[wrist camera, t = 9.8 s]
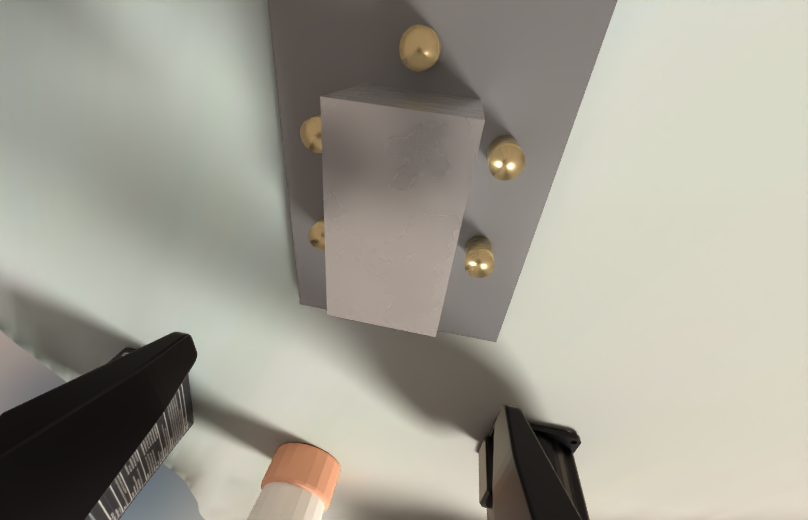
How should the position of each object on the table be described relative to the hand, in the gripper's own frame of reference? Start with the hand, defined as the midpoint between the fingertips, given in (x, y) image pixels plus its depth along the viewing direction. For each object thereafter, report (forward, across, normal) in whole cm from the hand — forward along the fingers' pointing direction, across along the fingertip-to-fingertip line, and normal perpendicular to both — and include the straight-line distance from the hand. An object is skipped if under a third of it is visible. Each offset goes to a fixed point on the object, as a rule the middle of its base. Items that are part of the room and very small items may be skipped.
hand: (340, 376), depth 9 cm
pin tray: (+11, 0, -2) cm, 11 cm away
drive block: (+10, 0, -2) cm, 10 cm away
